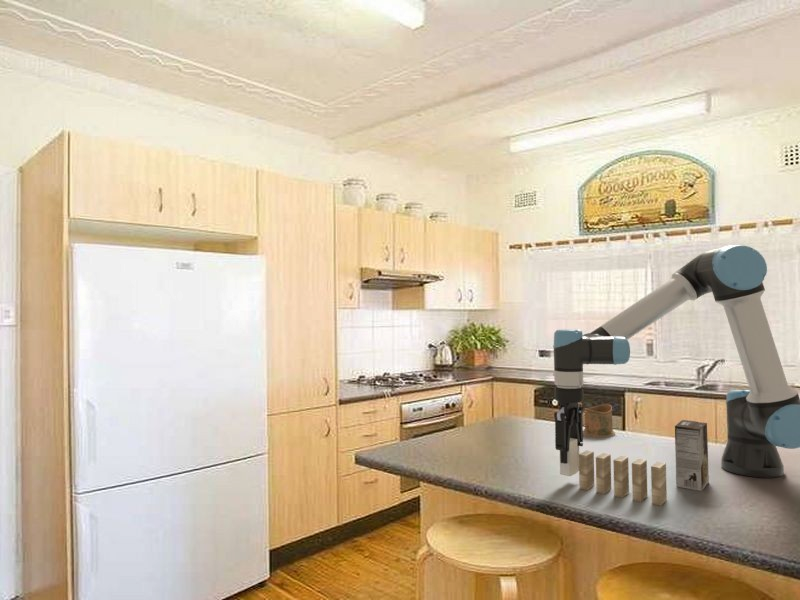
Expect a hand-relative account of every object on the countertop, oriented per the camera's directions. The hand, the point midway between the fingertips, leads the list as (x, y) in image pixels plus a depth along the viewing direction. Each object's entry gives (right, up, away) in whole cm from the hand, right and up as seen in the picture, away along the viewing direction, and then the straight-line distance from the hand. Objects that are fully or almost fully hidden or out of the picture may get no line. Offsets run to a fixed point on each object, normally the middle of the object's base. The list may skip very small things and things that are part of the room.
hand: (570, 472), depth 148 cm
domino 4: (+10, -3, -9) cm, 14 cm away
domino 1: (0, 0, 0) cm, 0 cm away
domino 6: (+17, -3, -15) cm, 23 cm away
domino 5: (+14, -3, -12) cm, 18 cm away
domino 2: (+4, -3, -3) cm, 6 cm away
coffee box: (+32, -3, -2) cm, 32 cm away
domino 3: (+7, -3, -6) cm, 10 cm away
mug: (+26, -4, +56) cm, 62 cm away
